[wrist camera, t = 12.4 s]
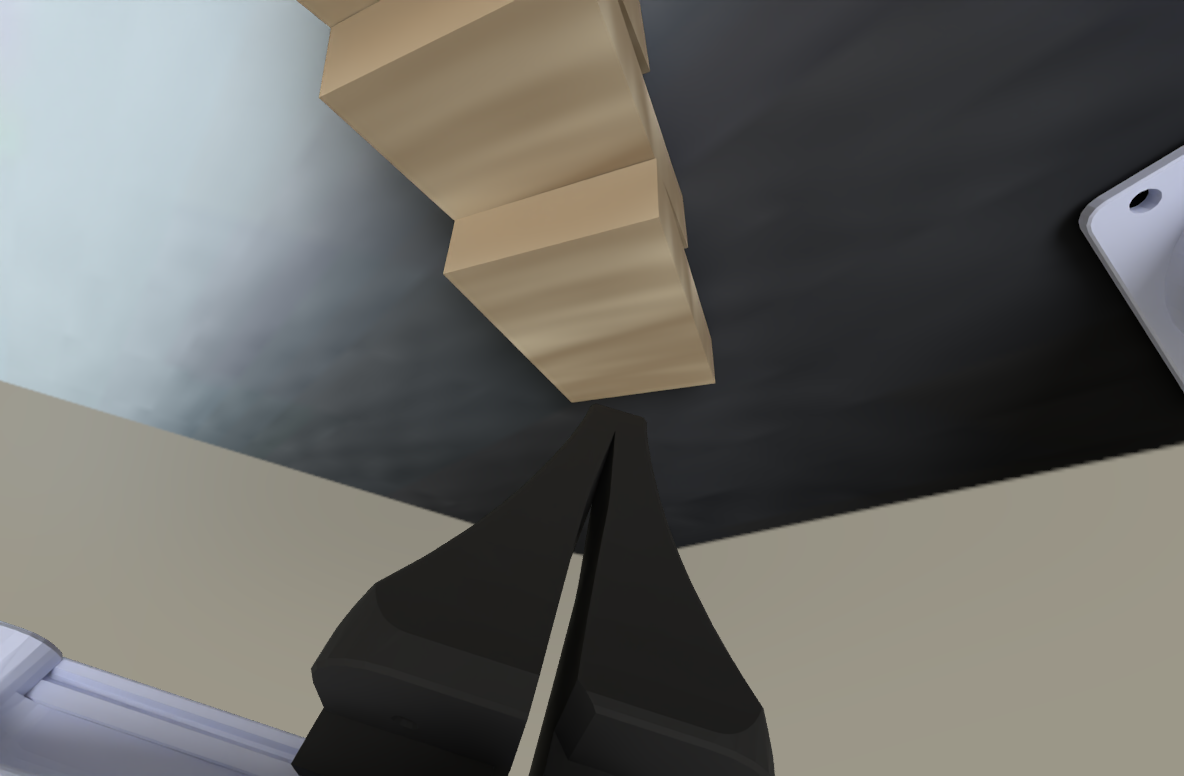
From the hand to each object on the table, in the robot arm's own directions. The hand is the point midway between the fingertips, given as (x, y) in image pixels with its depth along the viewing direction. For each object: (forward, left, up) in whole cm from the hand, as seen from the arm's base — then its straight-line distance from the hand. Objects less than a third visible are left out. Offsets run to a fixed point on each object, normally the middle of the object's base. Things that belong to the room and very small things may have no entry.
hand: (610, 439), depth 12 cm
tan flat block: (-2, -3, -4) cm, 6 cm away
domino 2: (0, +1, -4) cm, 4 cm away
